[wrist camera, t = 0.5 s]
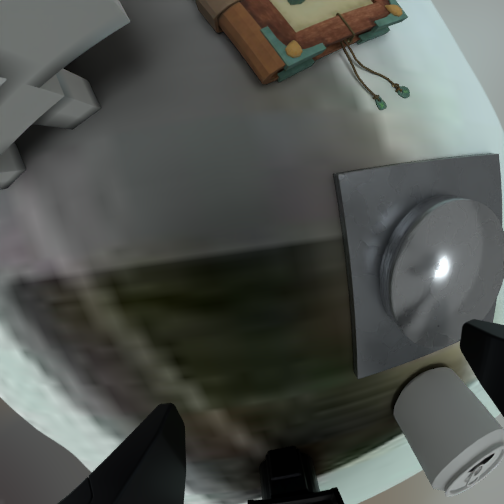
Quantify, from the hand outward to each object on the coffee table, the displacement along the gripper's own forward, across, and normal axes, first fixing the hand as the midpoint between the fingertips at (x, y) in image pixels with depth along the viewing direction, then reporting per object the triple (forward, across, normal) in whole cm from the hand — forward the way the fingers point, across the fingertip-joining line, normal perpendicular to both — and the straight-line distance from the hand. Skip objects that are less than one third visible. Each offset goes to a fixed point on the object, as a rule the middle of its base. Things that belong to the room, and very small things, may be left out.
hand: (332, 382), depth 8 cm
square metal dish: (+13, -12, +4) cm, 18 cm away
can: (+14, -12, +18) cm, 25 cm away
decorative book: (+13, -6, -16) cm, 22 cm away
